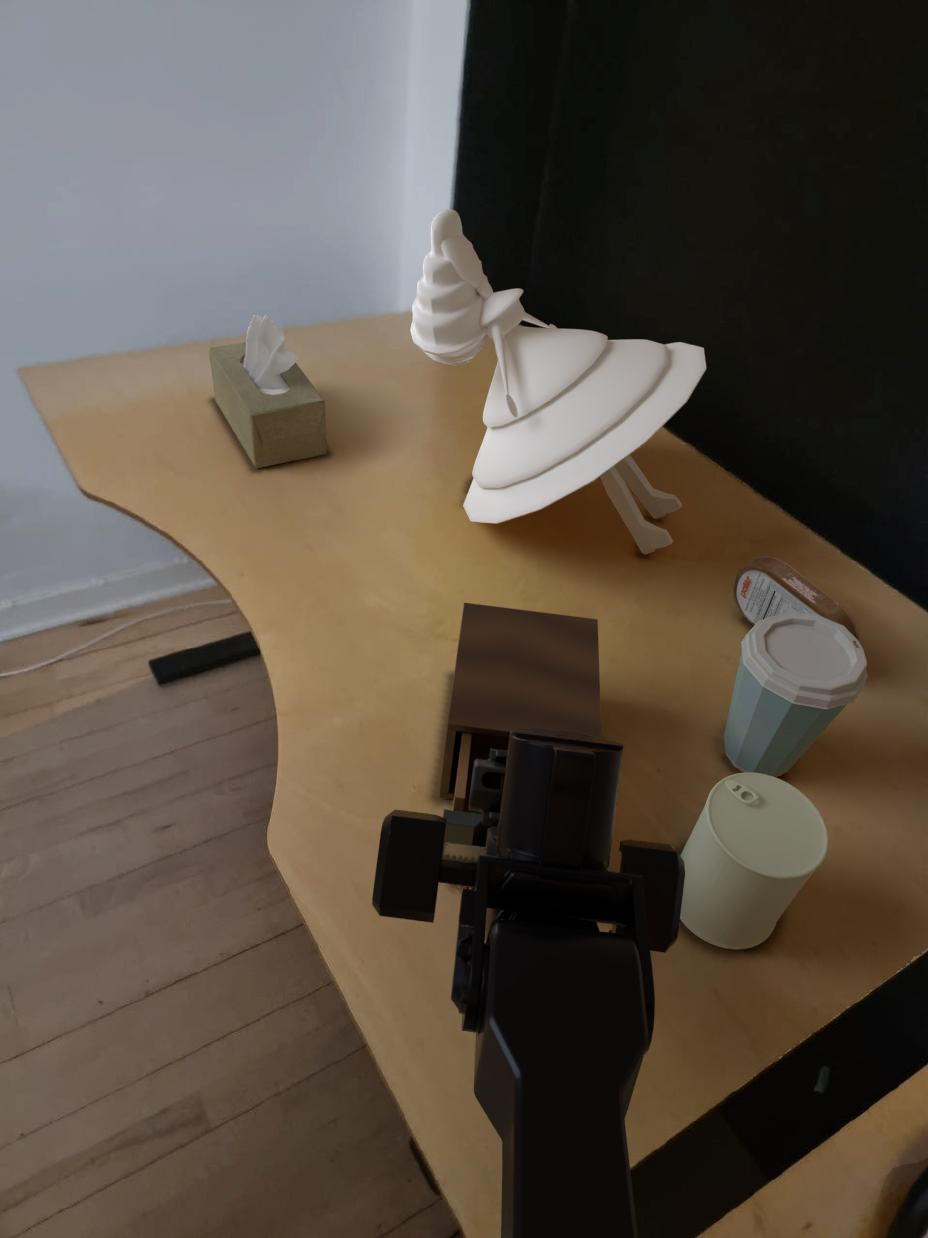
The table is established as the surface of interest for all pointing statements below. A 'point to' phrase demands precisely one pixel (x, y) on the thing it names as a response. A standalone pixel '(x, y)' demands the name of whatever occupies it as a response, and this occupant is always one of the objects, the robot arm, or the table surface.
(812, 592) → the tin
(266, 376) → the tissue box
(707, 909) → the can
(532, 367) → the figurine
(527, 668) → the cabinet
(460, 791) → the drawer
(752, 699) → the disposable coffee cup
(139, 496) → the table surface
